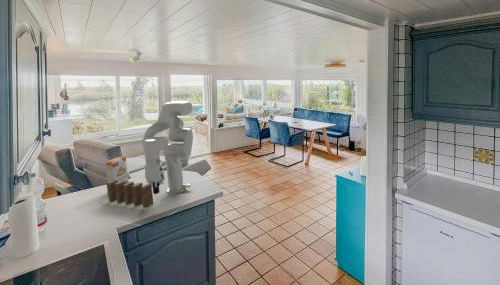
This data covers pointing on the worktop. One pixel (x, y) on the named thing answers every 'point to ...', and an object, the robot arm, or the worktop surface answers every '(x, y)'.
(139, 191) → the domino
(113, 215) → the worktop surface
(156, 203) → the mat
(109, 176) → the cracker box
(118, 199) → the domino
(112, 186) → the domino
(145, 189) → the domino
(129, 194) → the domino
